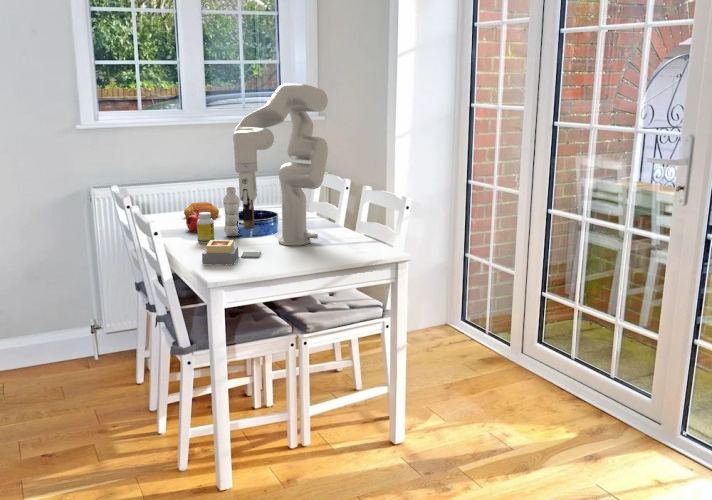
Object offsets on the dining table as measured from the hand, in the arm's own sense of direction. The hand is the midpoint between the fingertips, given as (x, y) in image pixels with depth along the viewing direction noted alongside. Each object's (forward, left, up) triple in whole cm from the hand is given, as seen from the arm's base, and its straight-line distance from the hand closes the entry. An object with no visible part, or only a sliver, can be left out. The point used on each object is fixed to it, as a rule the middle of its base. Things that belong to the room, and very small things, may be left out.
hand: (248, 218), depth 247 cm
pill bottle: (+21, -30, -16) cm, 40 cm away
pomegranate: (+28, -50, -16) cm, 60 cm away
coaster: (+1, -10, -16) cm, 19 cm away
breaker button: (+11, -3, -14) cm, 18 cm away
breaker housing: (+11, -3, -16) cm, 20 cm away
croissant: (+32, -76, -17) cm, 84 cm away
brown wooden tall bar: (0, 0, -3) cm, 3 cm away
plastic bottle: (+12, -40, -16) cm, 45 cm away
